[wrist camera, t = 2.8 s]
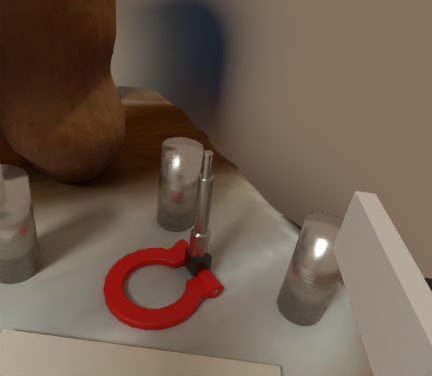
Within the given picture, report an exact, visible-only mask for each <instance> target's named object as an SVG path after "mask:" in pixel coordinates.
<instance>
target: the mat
mask: <svg viewBox="0 0 432 376" xmlns="http://www.w3.org/2000/svg"><path fill="white" fill-rule="evenodd" d="M0 376H281V370H280V366H275V365H267V364H260V363H252V362H245V361H237V360H230V359H223V358H215V357H208V356H200V355H193V354H185V353H178V352H170V351H163V350H155V349H148V348H140V347H133V346H125V345H118V344H111V343H103V342H96V341H88V340H81V339H73V338H66V337H58V336H51V335H43V334H36V333H28V332H21V331H13V330H6V329H2V331H1V333H0Z"/></svg>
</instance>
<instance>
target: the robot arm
mask: <svg viewBox="0 0 432 376" xmlns="http://www.w3.org/2000/svg"><path fill="white" fill-rule="evenodd" d="M7 202H8V200H7V195H6V190H5V185H4V180H3V175H2V170H1V165H0V210H1V209H2V208H3V207H4V206H5V204H6V203H7ZM333 251H334V254H335V257H336V260H337V263H338V266H339V269H340V272H341V276H342V279H343V282H344V285H345V288H346V291H347V294H348V297H349V300H350V304H351V307H352V310H353V313H354V316H355V319H356V322H357V325H358V328H359V332H360V335H361V338H362V341H363V344H364V347H365V350H366V353H367V356H368V360H369V363H370V366H371V369H372V372H373V375H374V376H432V279H429V278H424V277H423V276H422V274H421V272H420V270H419V269H418V267H417V265H416V264H415V262H414V260H413V258H412V256H411V255H410V253H409V251H408V250H407V248H406V246H405V244H404V243H403V241H402V239H401V237H400V236H399V234H398V232H397V230H396V229H395V227H394V225H393V223H392V222H391V220H390V218H389V216H388V215H387V213H386V211H385V209H384V208H383V206H382V204H381V203H380V201H379V199H378V197H377V195H376V194H372V193H365V192H358V191H356V192H355V193H354V196H353V198H352V201H351V203H350V206H349V208H348V211H347V213H346V215H345V218H344V220H343V223H342V225H341V228H340V230H339V233H338V235H337V238H336V240H335V243H334V245H333Z"/></svg>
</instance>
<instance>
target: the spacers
mask: <svg viewBox="0 0 432 376" xmlns="http://www.w3.org/2000/svg"><path fill="white" fill-rule="evenodd" d="M203 151H204V148H203V146H202V144H200V143H199V142H197V141H195V140H193V139H189V138H184V137H174V138H169V139H167V140H165V141H164V142H163V143H162V153H161V167H160V180H159V194H158V208H157V223H158V224H159V226H161V227H162V228H163V229H165V230H168V231H172V232H181V231H185V230H187V229H189V228H190V227H191V226H192V225H193V221H194V214H195V207H196V200H197V189H198V177H199V174H200V172H201V165H202V158H203ZM1 170H2V175H3V180H4V185H5V190H6V195H7V200H8V202H7V203H6V204H5V206H4V207H3V208H2V209H1V210H0V283H4V284H13V283H18V282H22V281H24V280H27V279H29V278H30V277H32V276H33V275H34V274H36V273H37V271H38V270H39V269H40V266H41V256H40V250H39V243H38V237H37V231H36V224H35V218H34V212H33V205H32V199H31V192H30V186H29V180H28V174H27V172H26V171H25V170H24V169H22V168H20V167H18V166H14V165H1ZM343 220H344V219H342V218H341V217H338V216H336V215H333V214H330V213H324V212H317V213H313V214H310V215H308V216H307V217H306V219H305V221H304V224H303V227H302V230H301V233H300V236H299V238H298V241H297V244H296V247H295V250H294V253H293V255H292V258H291V261H290V264H289V267H288V270H287V272H286V275H285V278H284V281H283V284H282V287H281V290H280V292H279V295H278V298H277V306H278V308H279V310H280V312H281V313H282V315H283V316H284V317H285V318H286V319H288V320H289V321H291V322H293V323H295V324H297V325H301V326H310V325H314V324H316V323H317V322H318V321H319V320H320V318H321V316H322V314H323V312H324V310H325V307H326V305H327V303H328V301H329V299H330V297H331V295H332V293H333V290H334V288H335V286H336V284H337V282H338V280H339V278H340V275H341V272H340V269H339V266H338V263H337V260H336V257H335V254H334V251H333V245H334V243H335V240H336V238H337V235H338V233H339V230H340V228H341V225H342V223H343Z"/></svg>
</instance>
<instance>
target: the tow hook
mask: <svg viewBox="0 0 432 376" xmlns="http://www.w3.org/2000/svg"><path fill="white" fill-rule="evenodd" d="M213 156H214V153H213V152H212V151H210V150H206V151H204V152H203V163H202V173H201V174H199V177H198V189H197V200H196V211H195V223H194V228H193V229H192V231H191V236H190V246H189V244H188V243H187V242H186V241H185V240H179V241H178V242H177V243H176V244H175V245H174V247H172V248H169V249H164V248H148V249H143V250H138V251H135V252H133V253H130V254H128V255H126V256H125V257H123V258H122V259H120V260H118V261H117V262H116V263H115V265H114V266H113V267H112V268H111V269H110V271H109V272H108V274H107V276H106V278H105V283H104V295H105V301H106V304H107V306H108V308H109V310H110V312H111V313H112V314H113V315H114V316H115V317H116V318H117V319H118V320H119V321H121V322H123V323H125V324H127V325H129V326H131V327H134V328H139V329H144V330H160V329H164V328H168V327H172V326H175V325H177V324H178V323H180V322H182V321H184V320H186V319H187V318H188V317H189V316H190V315H191V314H192V313H193V312H195V310H196V309H197V307H198V305H199V304H200V302H201V300H202V299H204V298H207V297H209V296H210V297H211V298H215V297H217V296H218V295H220V294H221V292H222V291H223V286H222V285H221V284H220V283H219V281H218V280H217V279H216V278H215V277H214V275H213V274H212V273H211V272H210V267H211V259H212V257H211V255H210V254H209V253H208V246H209V239H210V231H209V230H208V223H209V215H210V206H211V197H212V189H213V180H214V176H213V175H212V165H213ZM150 264H162V265H167V266H170V267H172V268H176V267H178V266H181V265H183V264H185V267H186V268H187V269H188V271H189V272H190V273H191V275H192V276H193V277H194V278H191V279H189V280H188V281H187V282H186V289H185V292H184V293H183V295H182V296H181V298H180V299H178V300H177V301H176V302H175V303H173V304H171V305H169V306H167V307H163V308H159V309H147V308H142V307H139V306H137V305H135V304H133V303H132V302H131V301H129V300H128V299H127V297H126V296H125V294H124V292H123V284H124V282H125V280H126V278H127V277H128V276H129V274H130V273H131V272H133V271H134V270H136V269H137V268H140V267H142V266H145V265H150Z"/></svg>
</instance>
